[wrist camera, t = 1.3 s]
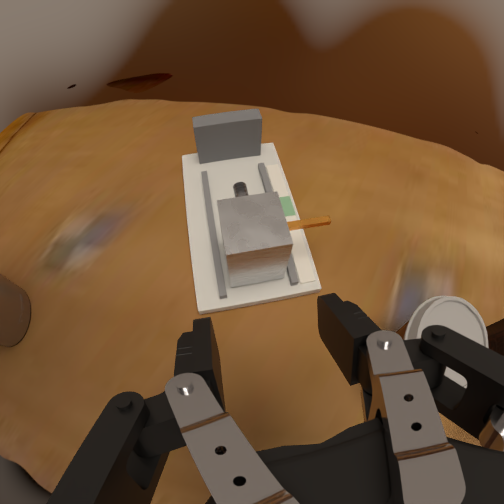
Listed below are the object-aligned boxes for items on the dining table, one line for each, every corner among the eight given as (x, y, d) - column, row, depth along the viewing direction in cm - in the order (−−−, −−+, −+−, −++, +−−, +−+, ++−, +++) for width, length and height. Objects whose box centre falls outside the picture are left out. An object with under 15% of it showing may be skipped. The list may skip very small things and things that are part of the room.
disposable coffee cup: (372, 315, 33) (422, 276, 22) (434, 338, 32) (495, 308, 21) (349, 391, 29) (398, 386, 18) (416, 410, 28) (481, 406, 17)
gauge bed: (199, 314, 33) (186, 289, 26) (183, 161, 44) (174, 120, 37) (319, 291, 35) (337, 262, 27) (272, 148, 45) (275, 106, 38)
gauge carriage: (231, 287, 33) (226, 255, 26) (217, 207, 38) (210, 164, 31) (325, 269, 34) (344, 234, 27) (299, 195, 39) (309, 151, 32)
